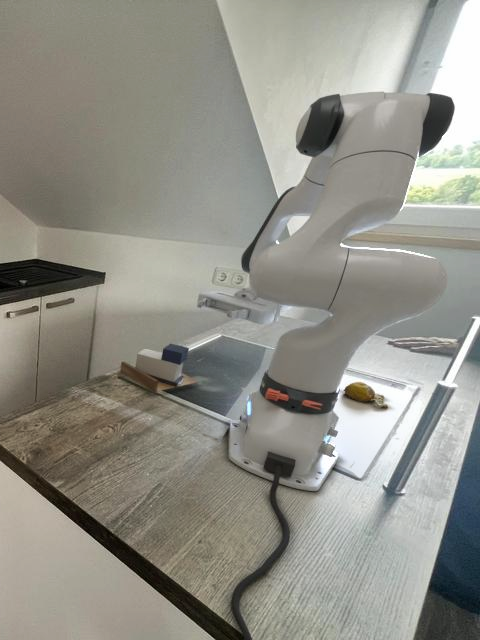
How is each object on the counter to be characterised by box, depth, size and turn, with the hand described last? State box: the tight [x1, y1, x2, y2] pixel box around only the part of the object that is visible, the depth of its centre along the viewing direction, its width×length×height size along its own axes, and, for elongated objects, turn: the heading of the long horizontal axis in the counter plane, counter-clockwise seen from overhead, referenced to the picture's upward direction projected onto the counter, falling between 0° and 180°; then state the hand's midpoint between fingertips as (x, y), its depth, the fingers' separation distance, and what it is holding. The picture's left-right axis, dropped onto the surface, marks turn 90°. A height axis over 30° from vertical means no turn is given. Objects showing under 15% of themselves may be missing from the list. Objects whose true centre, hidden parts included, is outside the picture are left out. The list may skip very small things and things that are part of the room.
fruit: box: [343, 381, 389, 408], centre depth 96 cm, size 8×8×4 cm
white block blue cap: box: [134, 343, 190, 388], centre depth 103 cm, size 12×6×9 cm, turn 48°
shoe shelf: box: [119, 361, 200, 393], centre depth 105 cm, size 16×13×4 cm
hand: (213, 309), depth 104 cm, fingers open, 8 cm apart
